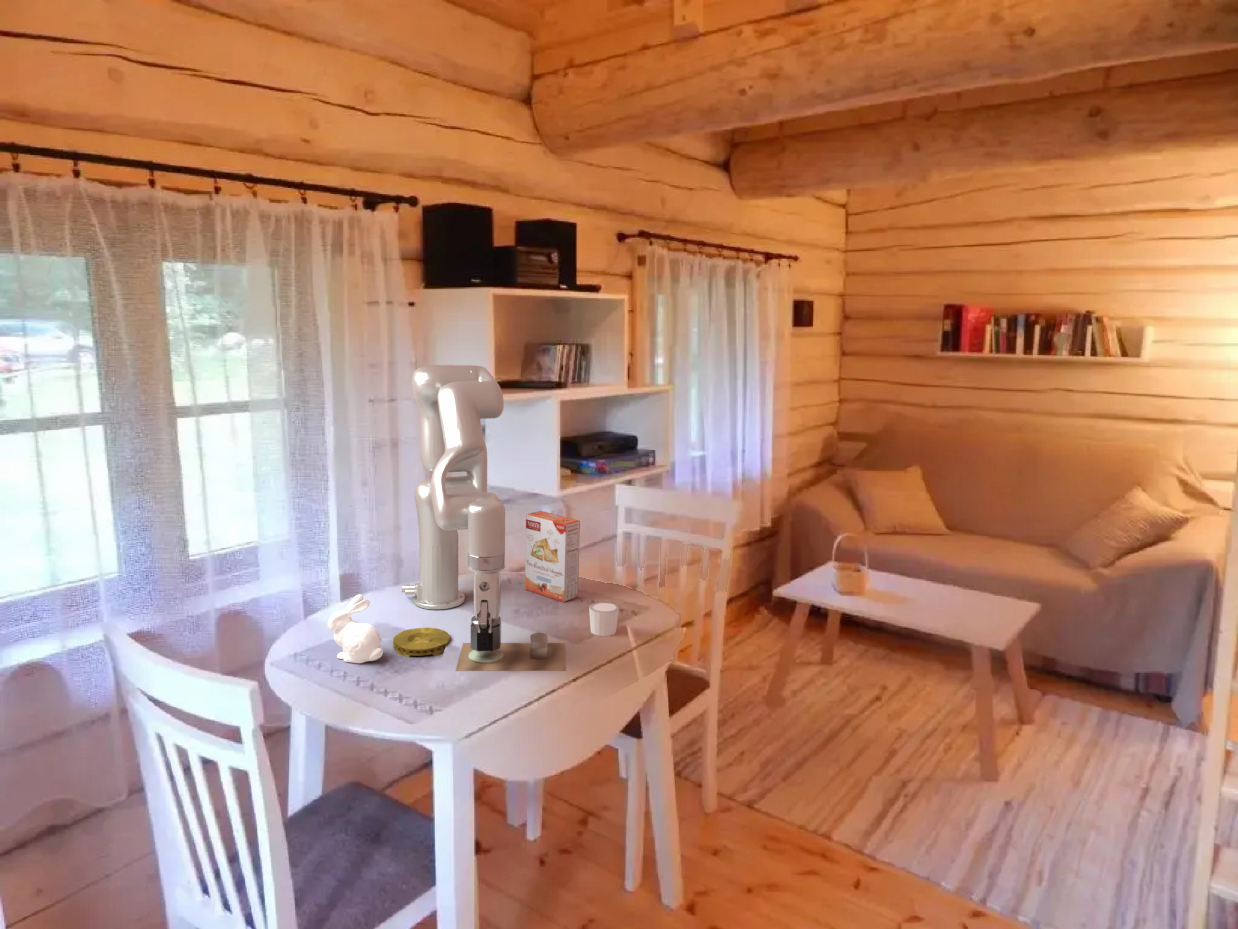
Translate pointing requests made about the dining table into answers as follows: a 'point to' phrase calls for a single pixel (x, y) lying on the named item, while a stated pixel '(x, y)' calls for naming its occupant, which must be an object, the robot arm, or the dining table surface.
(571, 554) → the cracker box
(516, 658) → the board
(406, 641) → the brake disc
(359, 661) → the rabbit
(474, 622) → the grey faceted cylinder
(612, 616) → the white cup
